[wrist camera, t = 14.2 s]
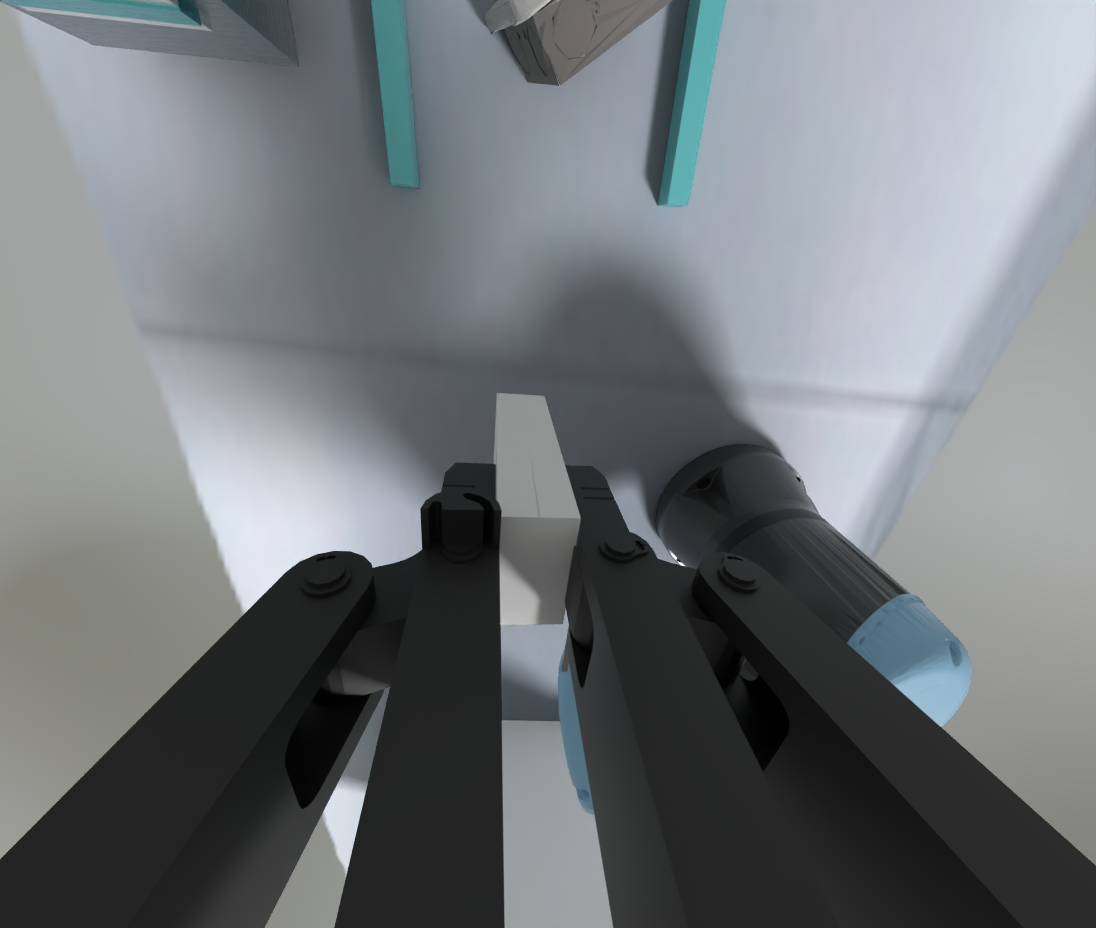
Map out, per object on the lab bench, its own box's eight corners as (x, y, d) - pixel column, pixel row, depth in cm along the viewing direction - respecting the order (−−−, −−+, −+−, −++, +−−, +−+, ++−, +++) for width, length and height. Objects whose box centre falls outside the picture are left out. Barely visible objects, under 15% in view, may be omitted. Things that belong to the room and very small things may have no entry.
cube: (467, 716, 59) (451, 988, 38) (608, 719, 63) (665, 964, 42) (447, 803, 70) (426, 1050, 49) (568, 801, 75) (597, 1027, 53)
